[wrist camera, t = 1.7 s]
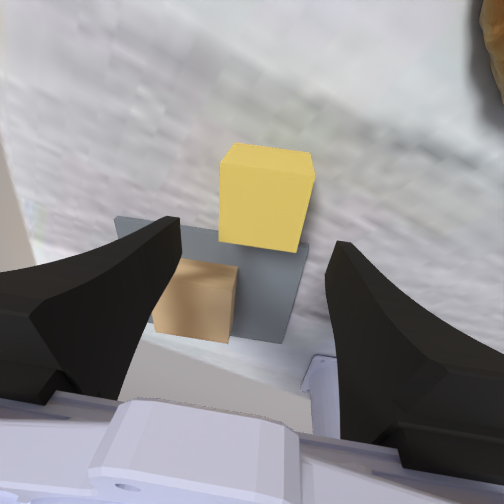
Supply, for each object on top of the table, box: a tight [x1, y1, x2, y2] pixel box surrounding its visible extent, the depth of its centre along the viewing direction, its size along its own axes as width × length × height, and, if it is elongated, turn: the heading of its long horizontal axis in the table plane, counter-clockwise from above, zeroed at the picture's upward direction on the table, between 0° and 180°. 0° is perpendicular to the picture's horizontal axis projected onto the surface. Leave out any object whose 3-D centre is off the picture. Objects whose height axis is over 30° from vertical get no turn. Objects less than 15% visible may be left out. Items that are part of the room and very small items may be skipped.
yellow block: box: [218, 143, 315, 253], centre depth 17 cm, size 5×5×4 cm
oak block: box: [152, 258, 238, 344], centre depth 23 cm, size 7×7×3 cm
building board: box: [114, 216, 309, 344], centre depth 25 cm, size 16×13×1 cm
